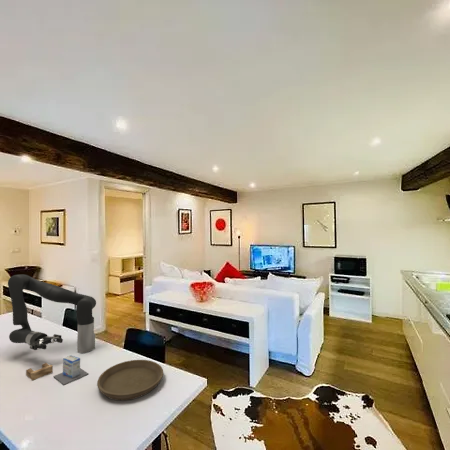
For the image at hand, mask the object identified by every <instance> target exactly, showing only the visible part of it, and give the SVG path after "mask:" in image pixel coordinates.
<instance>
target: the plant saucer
mask: <svg viewBox="0 0 450 450" xmlns="http://www.w3.org/2000/svg"><path fill="white" fill-rule="evenodd" d="M163 376H164V369H163V367H162V366H161V365H160V364H159V363H157V362H155V361H152V360H147V359H133V360H127V361H123V362H120V363H117V364H115V365H112V366H110V367H108V368H107V369H106V370H104V371H103V372H102V373H101V374H100V375H99V377H98V379H97V383H96V386H97V389H98V390H99V392H100V393H102V394H103V395H104V396H105V397H107V398H108V399H111V400H116V401H129V400H133V399H137V398H140V397H143V396H145V395H147V394H149V393H150V392H152V391H153V390H154V389H155V387H156V386H158V384H159V383H160V382H161V381H162V378H163Z"/></svg>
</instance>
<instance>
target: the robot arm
mask: <svg viewBox="0 0 450 450" xmlns="http://www.w3.org/2000/svg"><path fill="white" fill-rule="evenodd" d="M7 281H8V282H7V287H8V292H9V295H10V301H11V308H12V324H13V325H14V326H20V327H21V328H17V329H14V330H12V331H10V333H9V335H8V338H9V341H10V342H11V343H13V344H14V343H15V344H27V345H29V349H31V350H33V351H36V350H47V349H48V348H47V345H50V344H55V343H59V344H63V341H64V339H63V337H62V334H56V333H55V334H53V336H49V335H48V334H47V333H45V332H42V331H35V330H32V328H31V325H30V323H29V318H28V308H27V307H28V306H27V304H26V302H25V299H24V290H26V291H30V292H33V293H36V294H37V295H38V296H40V297H42V298H43V299H45V300H47V301H51V302H54V303H61V304H72V305H75V306H76V309H75V310H76V312H75V313H76V321H77V337H76V338H77V339H76V340H77V342H76V343H77V345H76V346H77V348H76V350H77V351H76V352H77V353H79V354H85V353H89V352H92V351H93V350H94V349H96V333H95V317H94V316H93V309H94V308H95V307H96V306H97V300H96V299H95V297H93V296H91V295H87V294H82V293H78V292H75V291H72V290H70V289H67V288H64V287H61V286H59V285H55V284H53V283H49V282H44V281H42V280H38V279H36V278H34V277H32V276H30V275H28V274H14V275H12V276H10V277H9V279H8V280H7Z"/></svg>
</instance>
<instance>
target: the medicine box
mask: <svg viewBox="0 0 450 450" xmlns="http://www.w3.org/2000/svg"><path fill="white" fill-rule="evenodd" d="M80 368H81V358H80V357H78V356H75V355H72V354H71V355H67V356H65V357H64V358H63V359H62V373H63V375H65V376H68V377H71V378H74V377H76V376H78V375H79V374H80Z"/></svg>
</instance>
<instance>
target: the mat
mask: <svg viewBox="0 0 450 450" xmlns="http://www.w3.org/2000/svg"><path fill="white" fill-rule="evenodd" d="M88 375H89V372H87V371H85V370H84V369H82V368H81V367H80V374H79V375H78V376H76V377H74V378H71V377H68V376H65V375H63V372H60V373H57V374H55V375H53V379H55V380H56V381H57V382H58V383H60V384H61V385H62V386H66V385H68V384H71V383H73V382H75V381H77V380H79V379H82V378H84V377H86V376H88Z"/></svg>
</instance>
